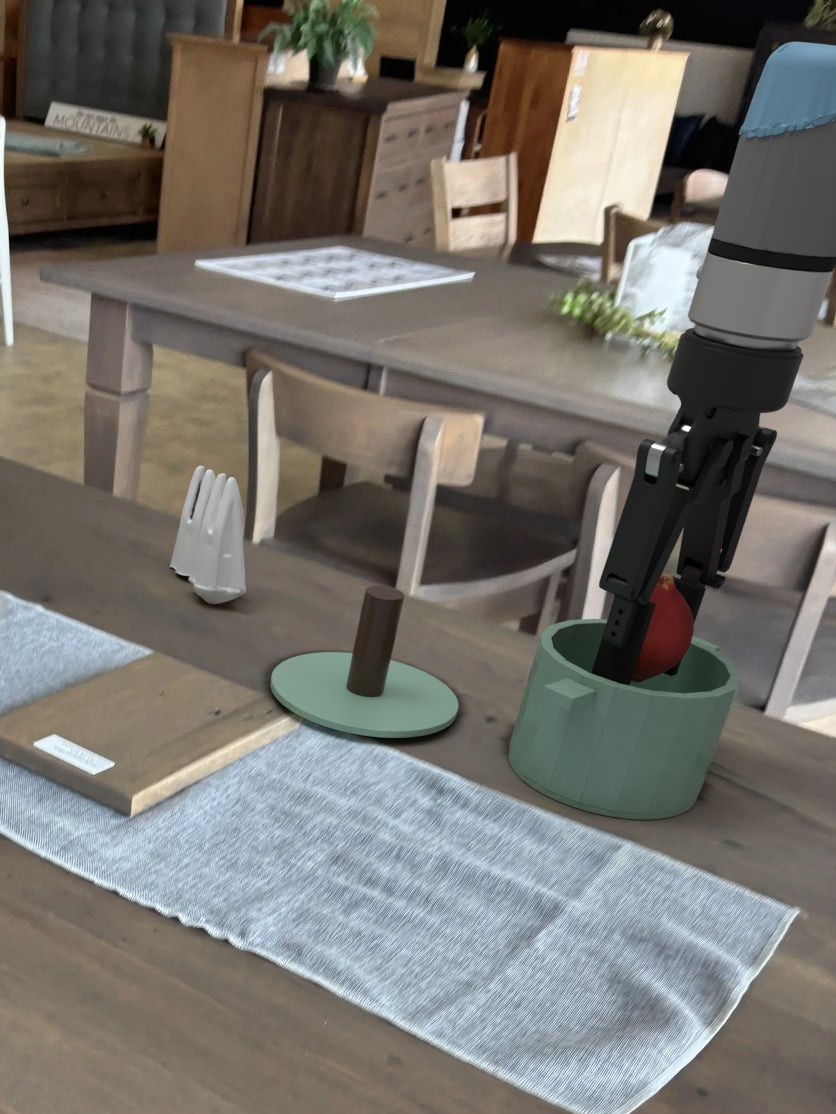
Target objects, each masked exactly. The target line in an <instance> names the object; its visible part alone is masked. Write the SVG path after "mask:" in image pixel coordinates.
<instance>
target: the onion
mask: <svg viewBox="0 0 836 1114" xmlns="http://www.w3.org/2000/svg"><path fill="white" fill-rule="evenodd" d="M672 576H673V575H671V574H667V573H662V575H661V577H660V579H659V581H658V583H657V585H656V587H655V589H654V592H653V594H652V596H651V598H650V600H649V601H650V602H653V603H655V604H656V605H655V608H654V611H653V614H652V617H651V620H650V624H649V627H648V630H647V633H646V636H645V639H644V642H643V645H642V648H641V651H640V654H639V657H638V660H637V664H636V667H635V670H634V673H633V676H632V679H631V682H634V683H639V682H642V681H645V680H647V679H649V678H652V677H655V676H657V675H660V674H662V673H664V672H666V671H668V670H669V669H671V668H673V667H674V666H675V665H676V664H677V663H678V662H679V661H681V660H682V659H683V657H684V655H685V654H686V652H687V650H688V648H689V646H690V644H691V641H692V637H693V636H694V633H695V632H694V631H695V623H694V620H693V615H692V612H691V610H690V607H689V605H688V604H687V602H686V600H685V598H684V597H683V596H682V594H681V593H680V592H679V591H678V590H677V589H676V587H675V584H674V580H673V577H674V576H673V577H672Z"/></svg>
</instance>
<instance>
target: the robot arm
mask: <svg viewBox="0 0 836 1114" xmlns="http://www.w3.org/2000/svg"><path fill="white" fill-rule="evenodd" d="M738 136H739V139H738V142H737V146H736V149H735V152H734V157H733V160H732V162H731V163H732V164H731V166H730V170H729V174H728V178H727V181H726V186H725V188H724V192H723V196H722V199H721V203H720V206H719V210H718V213H717V217H716V221H715V223H714V227H713V231H712V235H711V237H710V241H709V243H708V247H707V251H706V253H705V254H706V255H705V257H704V260H703V264H701V265H700V266H699V267H698V269H697V271H696V279H697V283H696V286H695V289H694V294H693V296H692V299H691V303H690V306H689V309H688V312H687V317H688V319H689V321H690V322H691V323H693V324H694V326H693V327H690V328H687V329H686V330H685V331H684V332H682V333H681V334H680V337H679V340H678V343H677V346H676V349H675V352H674V356H673V359H672V362H671V366H670V370H669V373H668V376H667V379H666V385H667V386H666V387H667V389H668V390H669V391H670V393H672V394H673V395H675V396H677V397H678V399H679V402H680V406H679V408H678V410H677V413H676V415H675V417H674V419H673V421H672V422H671V423H670V426H669V427H668V431H667V435H666V437H664V438H663V439H661V440H659V441H656V440H653V439H649V438H644V439H643V440H642V441H641V443H640V444H639V446H638V448H637V452H636V459H635V465H634V466H635V467H634V474H633V478H632V481H631V484H630V488H629V491H628V493H627V497H626V499H625V502H624V505H623V508H622V512H621V513H620V514H621V515H620V517H619V520H618V523H617V527H616V530H615V533H614V536H613V539H612V542H611V545H610V548H609V550H608V554H607V557H606V560H605V563H604V565H603V569H602V573H601V575H600V579H599V582H598V587H599V589H601V590H602V591H605V592H608V593H610V594H613V601H612V604H611V607H610V611H609V614H608V617H607V619H606V620H607V623H606V626H605V630H604V633H603V636H602V640H601V643H600V646H599V649H598V653H597V656H596V659H595V662H594V666H593V669H592V672H591V674H594V675H597V676H600V677H602V678H605V679H608V680H611V681H614V682H617V683H620V684H624V685H630V682H631V679H632V676H633V673H634V670H635V667H636V664H637V660H638V657H639V654H640V651H641V648H642V645H643V642H644V639H645V636H646V633H647V630H648V627H649V624H650V620H651V617H652V614H653V611H654V608H655V605H656V604H655V603H653V602H650V601H649V600H650V598H651V596H652V594H653V592H654V589H655V587H656V585H657V583H658V581H659V579H660V577H661V575H663V572H664V570H665V568H666V566H667V563H668V562H669V560H670V558H671V555H672V553H673V551H674V549H675V546H676V545H677V542H678V541H679V539H680V536H681V535H682V536H681V541H680V547H679V554H678V559H677V566H676V574H677V575H678V576H680V578H679V577H676V576H673V575H671V576H672V577H673V580H674V584H675V587H676V589H677V590H678V591H679V592H680V593H681V594H682V596H683V597H684V598H685V600H686V602H687V604H688V605H689V607H690V610H691V612H692V615H693V620H694V624H695V623H696V619H697V617H698V613H699V610H700V607H701V605H702V602H703V599H704V597H705V593H706V591H707V590H706V589H707V588H706V586H708V587H711V588H713V589H716V590H719V589H721V588H722V586H723V585H724V584H725V582H726V579H727V577H726V576H724V575H721V574H718V572H720V573H723V574H725V573H727V572H728V571H729V570H730V568H731V566H732V564H733V560H734V557H735V554H736V551H737V549H738V546H739V545H738V544H739V543H740V539H741V536H742V533H743V530H744V527H745V524H746V521H747V517H748V514H749V512H750V509H751V505H752V502H753V499H754V496H755V492H756V490H757V487H758V483H759V480H760V478H761V474H762V471H763V468H764V465H765V463H766V461H767V459H768V457H769V455H770V453H771V451H772V449H773V446H774V445H775V442H776V440H777V436H778V431H777V430H776V429H772V428H768V427H766V426H761V425H760V422H761V421H760V419H761V414H769V413H774V412H778V411H781V410H782V409H783V408H784V407H785V406H786V405H787V403H788V402H789V400H790V399H789V398H790V395H791V394H792V393H791V392H792V390H793V387H794V385H795V382H796V379H797V376H798V373H799V370H800V367H801V365H802V361H803V358H804V354H803V350H802V348H801V347H800V346H799V342H803V341H805V340H807V339H808V338H811V337H812V335H813V332H814V330H815V327H816V324H817V321H818V318H819V315H820V312H821V309H822V307H823V303H824V300H825V297H826V295H827V291H828V288H829V285H830V282H831V279H832V277H833V273H834V269H836V45H833V44H826V43H814V42H804V41H791V42H786V43H784V44H782V45H780V46H779V47H778V48H776V49H775V50H774V51H773V52H772V53H771V54H770V55H769V57H768V58H767V60H766V62H765V64H764V67H763V70H762V72H761V75H760V77H759V80H758V81H757V84H756V88H755V90H754V93H753V96H752V99H751V102H750V105H749V108H748V111H747V113H746V115H745V119H744V122H743V123H742V125H741V126H740V129H739V132H738ZM678 485H679V486H678ZM684 487H685V488H684ZM686 488H687V489H686ZM680 663H681V661H679V662H678V663H677V664H676V665H675V666H674V667H673V668H671V669H669V670H668V671H666V672H664V674H667V675H669V676H674V675H676V674H677V672H678V669H679V666H680Z"/></svg>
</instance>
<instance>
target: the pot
mask: <svg viewBox="0 0 836 1114" xmlns="http://www.w3.org/2000/svg"><path fill="white" fill-rule="evenodd" d="M607 620H608V619H603V618H584V619H581V618H580V619H569V620H568V619H567V620H565V621H561V622H557V623H555V624H551V625H548V626H547V628H546V629H545V630H544V631H543V632H542V633H541V634H540V635H539V639H538V643H537V645H536V650H535V653H534V656H533V659H532V664H531V667H530V671H529V675H528V678H527V682H526V685H525V688H524V692H523V695H522V699H521V702H520V703H521V704H520V706H519V710H518V713H517V716H516V721H515V725H514V728H513V732H512V735H511V739H510V742H509V746H508V747H509V748H508V749H509V751H508V762H509V766H510V767H511V769H512V771H513V772H514V773H515V774H516V775H517V776H518V777H519V778H520V779H521V781H523V782H524V783H525V784H527V786H529V787H531V788H533V789H534V790H535V791H537V792H539V793H540V794H542V795H544V796H546V797H547V798H550V799H552V800H554V801H556V802H559V803H562V804H564V805H566V806H569V807H571V808H574V809H578V810H581V811H584V812H588V813H592V814H595V815H601V816H606V817H611V818H618V819H624V820H625V819H626V820H638V821H639V820H643V821H645V820H647V821H649V820H650V821H651V820H661V819H668V818H673V817H676V816H679V815H682V814H684V813H686V812H688V811H689V810H690V809H692V807H694V805H695V803H696V802H697V800H698V796H699V794H700V792H701V790H702V788H703V785H704V782H705V780H706V777H707V775H708V772H709V769H710V767H711V764H712V761H713V758H714V755H715V753H716V751H717V747H718V745H719V742H720V740H721V737H722V734H723V731H724V729H725V726H726V723H727V720H728V718H729V715H730V714H731V710H732V708H733V705H734V703H735V700H736V697H737V694H738V691H739V688H740V686H741V683H742V682H743V681H742V680H743V676H742V675H741V673H740V670H739V669H738V667H737V664H735V663H734V662H733V661H731V660H730V659H729V658H727V656H725V655H723V654H722V653H721V652H720V650H721V646H719V645H717V644H715V643H712V642H709V641H707V640H705V639H702V638H700V637H697V636H694V635H693V637H692V641H691V644H690V646H689V648H688V650H687V652H686V654H685V655H684V657H683V659H682V660H681V663H680V666H679V669H678V672H677V674H676V675H674V676H669V675H667V674H664V673H662V674H660V675H657V676H655V677H652V678H649V679H647V680H645V681H642V682H639V683H634V682H630V685H624V684H620V683H617V682H614V681H611V680H608V679H605V678H602V677H600V676H597V675H594V674H591V672H592V669H593V666H594V662H595V659H596V656H597V653H598V649H599V646H600V643H601V640H602V636H603V633H604V630H605V626H606V623H607Z"/></svg>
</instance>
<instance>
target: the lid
mask: <svg viewBox="0 0 836 1114" xmlns="http://www.w3.org/2000/svg"><path fill="white" fill-rule="evenodd" d="M404 601H405V594H404V592H403V591H401V590H400V589H397V588H394V587H392V586H386V585H370V586H368V587H366V588H365V590H364V595H363V602H362V604H361V609H360V613H359V614H360V615H359V620H358V625H357V630H356V634H355V638H354V639H355V640H354V645H353V650H352V652H342V651H341V652H340V651H331V652H330V651H323V652H311V653H304V654H299V655H296V656H292V657H290V658H288V659H285V660H284V661H282V662H279V664H277V665H276V667H275V668H274V669H273V671H272V673H271V676H270V681H269V682H270V683H269V684H270V690H271V692H272V694H273V696H274V697H275V698H276V700H277V701H278V702H279V703H280V704H281V705H283V706H284V707H285V708H286V709H288V710H289V711H291V712H292V713H294V714H296V715H298V716H299V717H301V718H303V719H305V720H308V721H310V722H312V723H315V724H317V725H320V726H323V727H325V728H329V729H333V730H336V731H340V732H343V733H349V734H354V735H359V736H364V737H365V736H367V737H373V738H374V737H375V738H387V739H404V738H415V737H416V738H418V737H423V736H427V735H432V734H435V733H438V732H440V731H443V730H444V729H446V728H448V727H450V726H451V725H452V723H453V722H454V721H456V718H457V715H458V713H459V712H458V711H459V706H460V705H459V700H458V698H457V695H456V694H455V693H454V691H453V690H452V689H450V687H448V685H446V683H444V682H443V681H441V680H440V679H439V678H437V677H435V676H433V675H431V674H430V673H428V672H425V671H424V670H421V669H419V668H418V667H417V668H416V667H415V666H411V665H409V664H406V663H403V662H400V661H396V660H393V659H392V656H393V650H394V646H395V641H396V637H397V632H398V628H399V623H400V618H401V614H402V609H403V605H404Z"/></svg>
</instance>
